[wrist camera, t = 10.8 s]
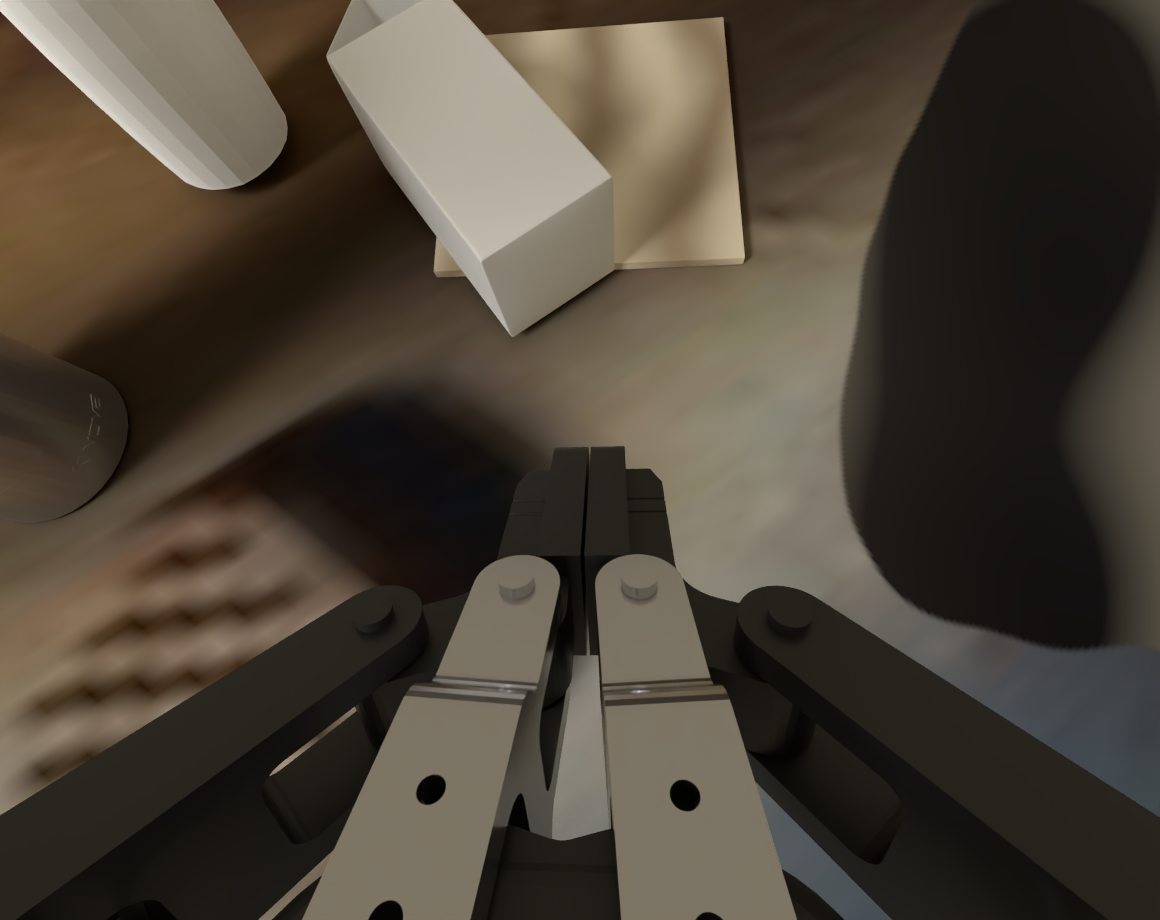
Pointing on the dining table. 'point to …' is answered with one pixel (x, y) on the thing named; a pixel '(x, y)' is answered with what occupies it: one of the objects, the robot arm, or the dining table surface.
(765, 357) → the dining table surface
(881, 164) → the dining table surface
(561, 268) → the milk carton
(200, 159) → the cup
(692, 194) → the birch board
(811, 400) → the dining table surface
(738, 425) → the dining table surface
